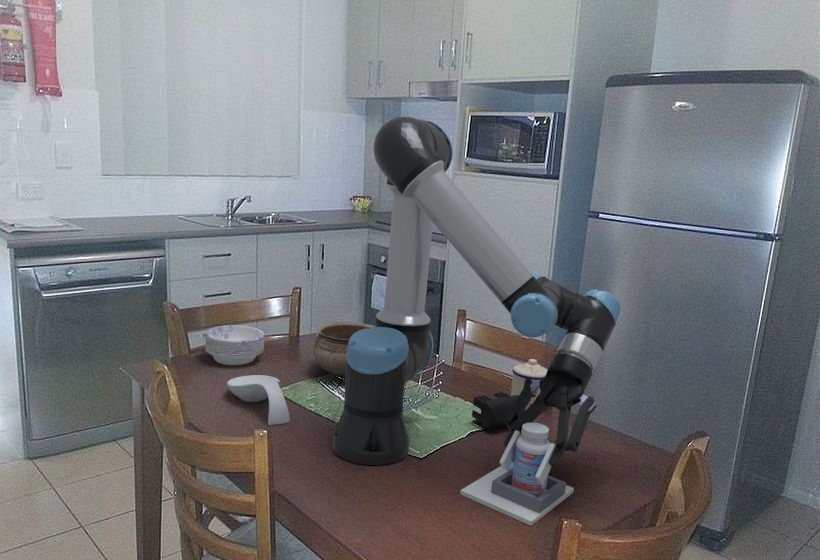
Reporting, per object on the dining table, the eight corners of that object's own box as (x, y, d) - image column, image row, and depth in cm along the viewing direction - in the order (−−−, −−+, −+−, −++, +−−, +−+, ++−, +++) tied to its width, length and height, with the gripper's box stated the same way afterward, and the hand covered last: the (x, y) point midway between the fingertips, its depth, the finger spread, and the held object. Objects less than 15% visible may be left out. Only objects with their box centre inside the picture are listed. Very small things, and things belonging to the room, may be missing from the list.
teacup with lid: (529, 415, 157) (534, 368, 154) (501, 402, 164) (506, 357, 161) (561, 406, 164) (567, 361, 162) (533, 394, 171) (538, 351, 169)
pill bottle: (508, 490, 116) (514, 430, 114) (515, 476, 121) (521, 418, 119) (543, 499, 114) (550, 437, 112) (548, 484, 119) (555, 424, 117)
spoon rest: (220, 391, 157) (221, 362, 156) (268, 385, 163) (269, 357, 162) (253, 430, 137) (254, 397, 136) (306, 421, 144) (308, 390, 142)
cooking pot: (408, 381, 173) (411, 336, 171) (356, 397, 159) (359, 348, 157) (341, 357, 189) (344, 315, 187) (289, 370, 175) (291, 325, 173)
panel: (460, 494, 117) (461, 478, 117) (506, 465, 130) (508, 451, 129) (530, 526, 109) (532, 509, 108) (573, 492, 121) (575, 477, 121)
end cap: (490, 435, 144) (493, 405, 142) (469, 423, 149) (472, 394, 148) (524, 427, 149) (527, 399, 148) (502, 416, 155) (505, 388, 154)
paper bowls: (256, 371, 172) (257, 342, 171) (197, 367, 172) (197, 337, 171) (268, 354, 187) (270, 327, 186) (214, 350, 187) (215, 322, 186)
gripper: (627, 388, 121) (577, 503, 111) (533, 361, 132) (480, 463, 122) (620, 365, 115) (567, 484, 106) (522, 340, 127) (467, 445, 117)
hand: (521, 473), depth 114 cm, fingers open, 6 cm apart
